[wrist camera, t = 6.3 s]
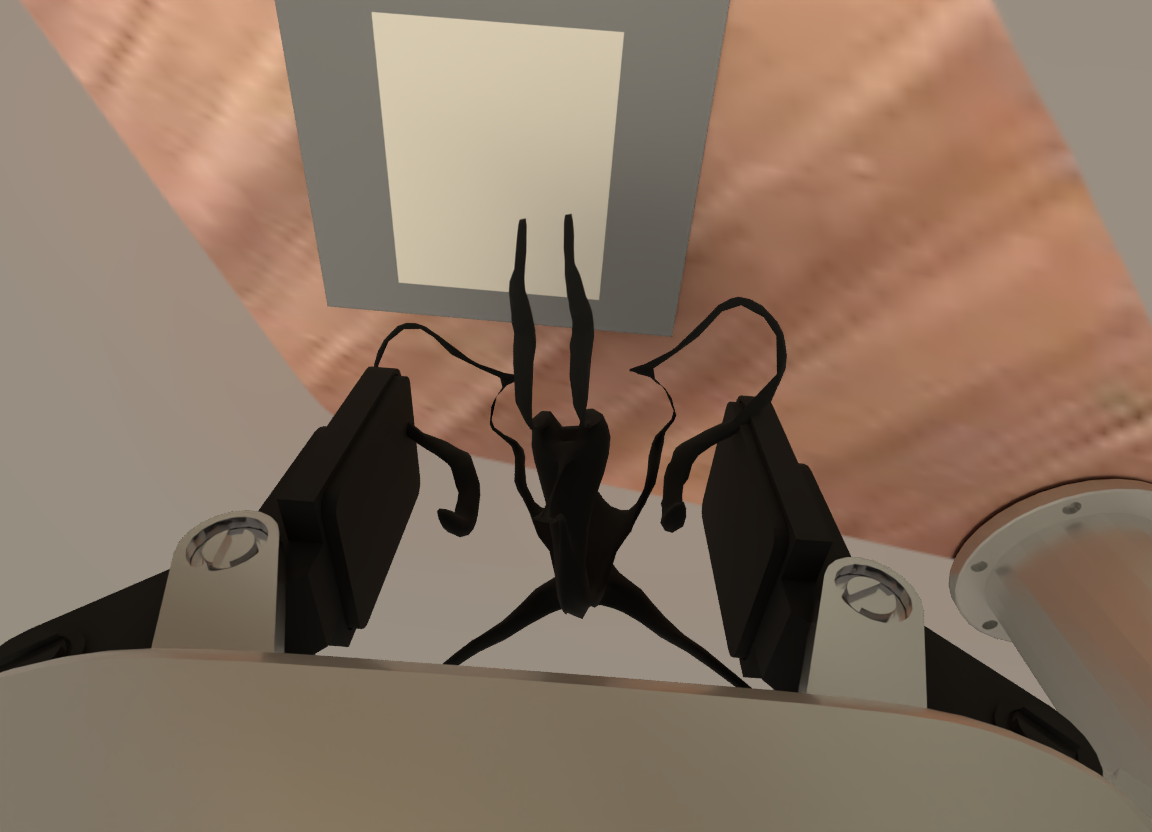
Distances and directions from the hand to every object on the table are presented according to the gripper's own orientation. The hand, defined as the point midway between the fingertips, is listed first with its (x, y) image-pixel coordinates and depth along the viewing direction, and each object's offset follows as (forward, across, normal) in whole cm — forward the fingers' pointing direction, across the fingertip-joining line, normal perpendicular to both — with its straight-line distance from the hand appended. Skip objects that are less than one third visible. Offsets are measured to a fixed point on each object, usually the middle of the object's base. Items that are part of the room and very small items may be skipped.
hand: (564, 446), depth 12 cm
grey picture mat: (+17, +4, -2) cm, 17 cm away
